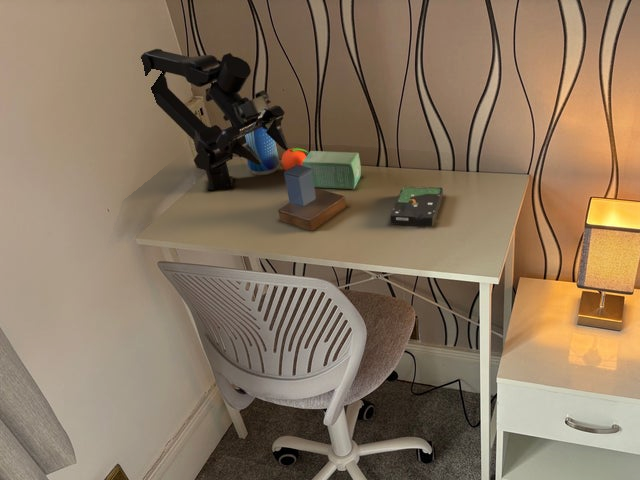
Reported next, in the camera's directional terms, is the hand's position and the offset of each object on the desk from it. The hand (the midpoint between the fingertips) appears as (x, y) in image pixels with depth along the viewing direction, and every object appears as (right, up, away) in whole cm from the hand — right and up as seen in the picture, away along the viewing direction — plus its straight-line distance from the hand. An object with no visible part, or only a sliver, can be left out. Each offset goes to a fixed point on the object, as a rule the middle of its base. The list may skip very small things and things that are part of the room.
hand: (274, 156), depth 148 cm
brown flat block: (+9, -13, +3) cm, 16 cm away
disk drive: (+34, -13, +2) cm, 37 cm away
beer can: (-8, +2, +25) cm, 26 cm away
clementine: (+2, 0, +22) cm, 22 cm away
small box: (+6, -10, +3) cm, 12 cm away
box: (+13, -3, +16) cm, 21 cm away
